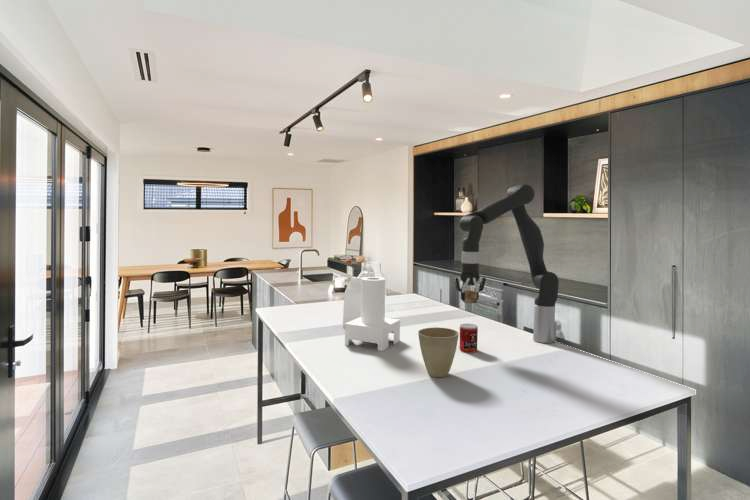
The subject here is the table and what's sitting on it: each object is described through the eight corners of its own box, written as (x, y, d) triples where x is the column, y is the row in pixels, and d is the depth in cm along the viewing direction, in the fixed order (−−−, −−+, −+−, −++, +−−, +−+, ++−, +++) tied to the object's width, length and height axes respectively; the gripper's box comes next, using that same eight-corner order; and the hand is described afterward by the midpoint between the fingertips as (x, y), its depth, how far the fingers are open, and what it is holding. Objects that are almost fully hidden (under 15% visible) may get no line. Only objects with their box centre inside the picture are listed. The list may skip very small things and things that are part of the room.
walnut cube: (473, 300, 197) (473, 289, 197) (476, 303, 192) (477, 291, 192) (462, 300, 197) (462, 289, 196) (465, 303, 192) (465, 291, 191)
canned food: (464, 353, 191) (465, 328, 190) (456, 348, 199) (456, 323, 198) (480, 352, 193) (481, 327, 192) (471, 346, 201) (472, 322, 200)
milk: (342, 327, 234) (342, 278, 232) (350, 322, 245) (350, 275, 243) (364, 329, 231) (364, 279, 228) (370, 324, 242) (371, 276, 239)
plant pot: (453, 367, 174) (454, 326, 173) (461, 381, 159) (462, 337, 158) (415, 367, 174) (415, 327, 172) (420, 381, 159) (420, 337, 158)
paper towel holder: (344, 345, 203) (344, 279, 200) (365, 335, 219) (365, 274, 217) (381, 351, 194) (382, 282, 191) (399, 340, 210) (400, 277, 208)
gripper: (483, 260, 197) (482, 298, 199) (451, 261, 196) (451, 299, 197) (489, 262, 190) (488, 302, 191) (456, 262, 189) (455, 302, 190)
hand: (469, 300), depth 194 cm, fingers closed on walnut cube, 5 cm apart
